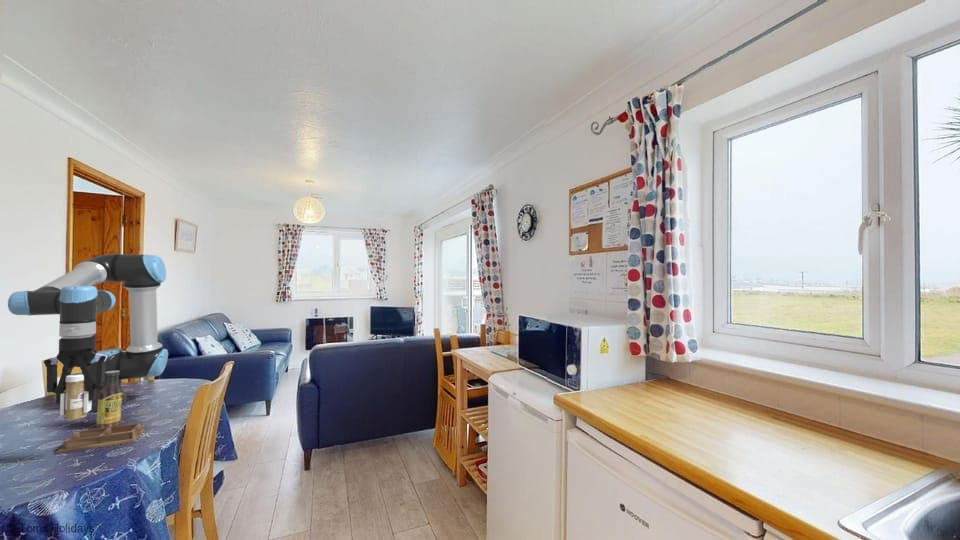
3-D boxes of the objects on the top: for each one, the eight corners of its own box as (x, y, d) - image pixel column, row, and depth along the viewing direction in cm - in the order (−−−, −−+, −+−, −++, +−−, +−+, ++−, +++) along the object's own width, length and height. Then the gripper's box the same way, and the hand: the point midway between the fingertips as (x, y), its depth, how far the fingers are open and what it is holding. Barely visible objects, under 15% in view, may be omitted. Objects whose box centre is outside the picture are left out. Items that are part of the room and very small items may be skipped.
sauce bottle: (104, 430, 128) (106, 374, 128) (91, 428, 129) (93, 373, 130) (126, 423, 134) (127, 370, 135) (113, 421, 136) (114, 369, 136)
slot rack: (76, 438, 121) (77, 429, 121) (146, 428, 130) (146, 420, 130) (55, 454, 111) (56, 444, 111) (133, 442, 119) (133, 433, 119)
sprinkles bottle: (78, 420, 108) (79, 375, 108) (59, 421, 107) (60, 376, 107) (91, 414, 112) (92, 371, 112) (73, 415, 111) (74, 372, 111)
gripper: (28, 340, 102) (26, 422, 102) (110, 336, 110) (109, 412, 110) (44, 336, 109) (42, 412, 109) (121, 332, 117) (119, 404, 117)
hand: (76, 412), depth 110 cm, fingers closed on sprinkles bottle, 4 cm apart
